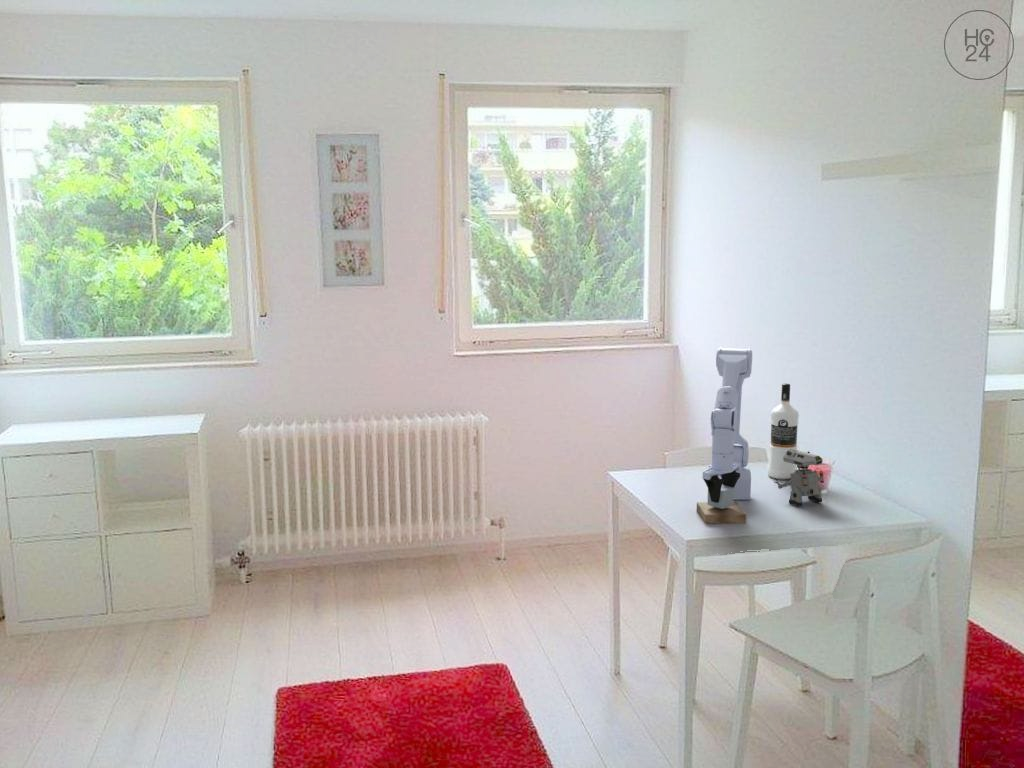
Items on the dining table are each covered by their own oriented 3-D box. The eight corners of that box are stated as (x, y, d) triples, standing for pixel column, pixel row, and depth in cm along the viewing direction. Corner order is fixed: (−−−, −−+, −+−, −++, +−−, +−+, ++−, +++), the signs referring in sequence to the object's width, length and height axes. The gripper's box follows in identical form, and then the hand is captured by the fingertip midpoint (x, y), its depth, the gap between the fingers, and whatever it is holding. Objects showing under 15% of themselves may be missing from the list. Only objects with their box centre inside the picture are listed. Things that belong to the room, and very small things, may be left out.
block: (718, 501, 257) (719, 483, 257) (733, 505, 254) (734, 487, 253) (707, 504, 254) (708, 487, 253) (722, 508, 250) (722, 491, 250)
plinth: (735, 510, 260) (735, 502, 259) (745, 523, 249) (746, 514, 249) (696, 511, 260) (696, 502, 259) (705, 523, 249) (705, 514, 248)
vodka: (800, 474, 296) (804, 382, 290) (792, 481, 288) (797, 387, 283) (771, 471, 300) (775, 380, 295) (763, 477, 293) (767, 384, 287)
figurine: (796, 494, 275) (798, 445, 272) (826, 504, 265) (828, 453, 262) (773, 499, 270) (775, 449, 268) (803, 509, 260) (805, 458, 258)
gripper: (726, 444, 259) (725, 491, 261) (694, 453, 250) (692, 501, 252) (748, 449, 253) (746, 497, 256) (715, 458, 244) (713, 507, 247)
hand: (721, 499), depth 254 cm, fingers closed on block, 5 cm apart
